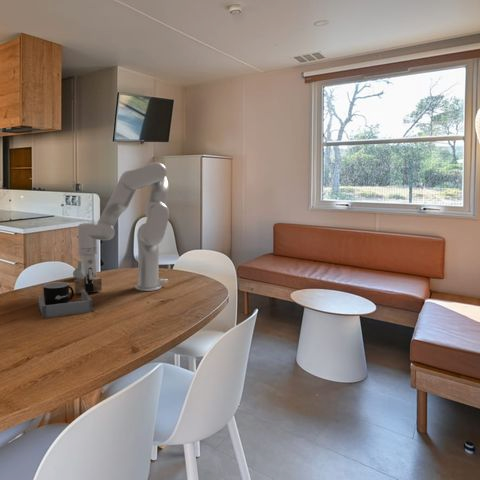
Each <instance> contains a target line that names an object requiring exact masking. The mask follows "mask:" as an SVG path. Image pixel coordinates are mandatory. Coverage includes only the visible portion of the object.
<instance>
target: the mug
mask: <svg viewBox="0 0 480 480" xmlns="http://www.w3.org/2000/svg"><path fill="white" fill-rule="evenodd" d="M42 289H43V299H44V302H45V305H53V304H61V303H69V302H71V300H72V299H73V297H74V294H75V290H74V289H73V287H72V286H70V285H69V283H68V282H67V281H65V282H64V281H54V282H52V281H51V282H48V283H44V284H43V286H42ZM69 294H70V295H69Z"/></svg>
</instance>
